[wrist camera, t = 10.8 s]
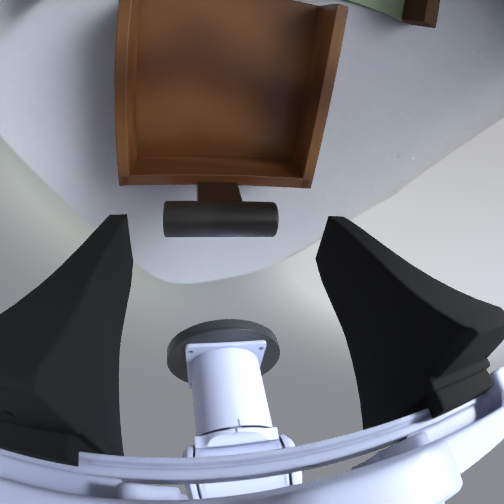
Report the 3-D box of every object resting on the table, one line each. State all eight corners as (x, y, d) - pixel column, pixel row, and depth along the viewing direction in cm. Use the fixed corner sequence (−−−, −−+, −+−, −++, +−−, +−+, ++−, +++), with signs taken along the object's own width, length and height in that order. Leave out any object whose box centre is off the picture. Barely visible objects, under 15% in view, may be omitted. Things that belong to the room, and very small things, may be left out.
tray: (291, 184, 19) (324, 243, 15) (130, 182, 17) (109, 245, 13) (324, 9, 12) (384, 4, 8) (133, -8, 10) (100, -28, 6)
